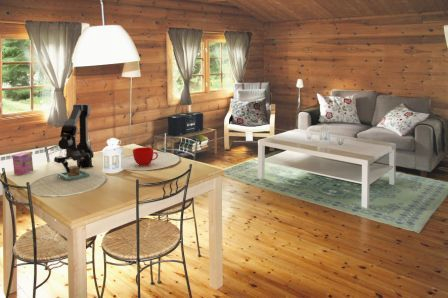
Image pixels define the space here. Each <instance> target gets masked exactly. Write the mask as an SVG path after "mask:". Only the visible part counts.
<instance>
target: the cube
mask: <svg viewBox="0 0 448 298" xmlns="http://www.w3.org/2000/svg"><path fill="white" fill-rule="evenodd" d="M68 170H69V173H68V176H70V177H72V176H77V175H80V172H79V167H78V166H77V165H72V166H71V165H70V166H68Z"/></svg>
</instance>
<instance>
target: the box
mask: <svg viewBox="0 0 448 298" xmlns="http://www.w3.org/2000/svg"><path fill="white" fill-rule="evenodd" d="M32 153H33V152H32V151H21V152H20V153H16V154H13V155H12V163H13V164H12V166H13V172H14V176H15V175H16V176H24V175H26V174H28V173H30V172H32V171H34V165H33V156H32Z"/></svg>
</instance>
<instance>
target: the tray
mask: <svg viewBox="0 0 448 298" xmlns="http://www.w3.org/2000/svg"><path fill="white" fill-rule="evenodd" d="M79 172H80V175H77V176H72V177H70V176H68V173H67V171H63V172H58V173H57V176H58V177H59V176H60V177H59V178H60V179H62V180H65V181H67V182H70V181H74V179H75V180H79V178H80V179H83V178H88V176H89V177H90V173H89V172H86V171H85V170H82V169H80V170H79Z"/></svg>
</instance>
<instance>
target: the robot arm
mask: <svg viewBox="0 0 448 298" xmlns="http://www.w3.org/2000/svg"><path fill="white" fill-rule="evenodd" d="M91 109H92V107H91V105H89V103H78V104H77V103H75V104H73V106H72V110H71V112H70V115H69V117H68V119H67V120H66V121H65V122H64V123H63V124H62V127H61V131H60V135H59V136H60V138H61V139H60V140H58V143H57V145H58V147H59V149H61V150H65V151H66V153H65V156H63V155H58V156H57V155H56V156H54V163H56V164H62V166H63V167H64V170H65V172H67V173H69V170H68V167H69V162H68V160H72V161H74V162H75V161H76V166H78V167H79V170H81V169H88V168H92V167H94V165H93V160H92V158H94V156H95V155H94V152H93V150H92V146H91V144H90V143H89V135H88V133H89V131H88V128H89V127H88V126H89V125H88V124H89V123H88V118H89V117H90V115H91V111H92V110H91ZM78 120H79V121H78ZM78 122H79V129H78V125H77V123H78ZM78 130H79V143H78V144H77V139H76V137H77V133H78Z"/></svg>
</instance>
